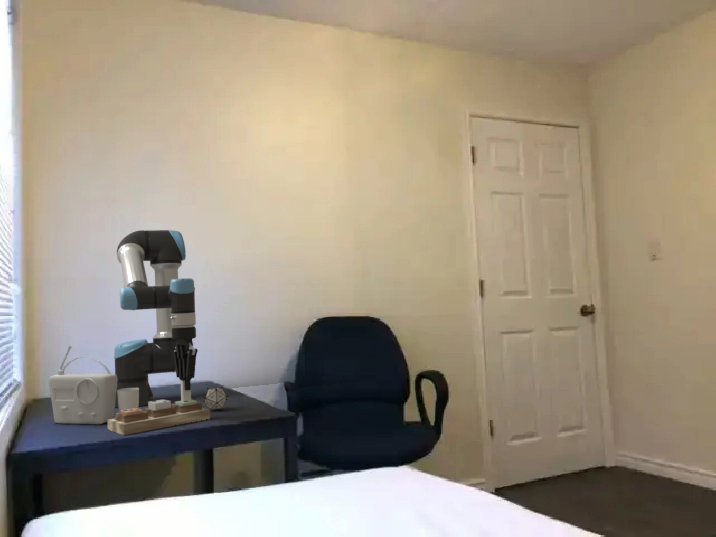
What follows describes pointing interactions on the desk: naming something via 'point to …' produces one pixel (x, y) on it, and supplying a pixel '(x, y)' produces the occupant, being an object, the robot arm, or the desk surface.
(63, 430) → the desk surface
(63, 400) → the radio
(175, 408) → the button console
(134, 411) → the button three dots
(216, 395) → the game die
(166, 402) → the button two dots
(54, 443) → the desk surface
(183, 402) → the button one dot
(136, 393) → the drinking glass
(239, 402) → the desk surface
